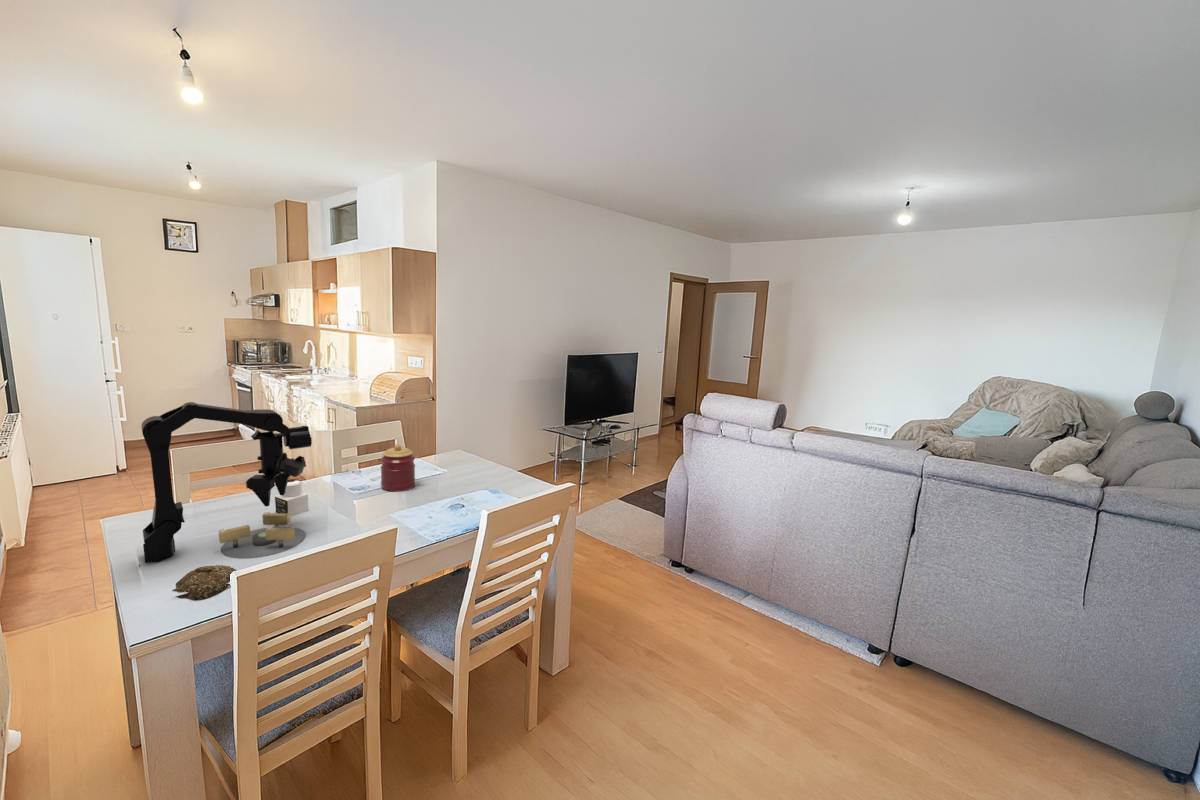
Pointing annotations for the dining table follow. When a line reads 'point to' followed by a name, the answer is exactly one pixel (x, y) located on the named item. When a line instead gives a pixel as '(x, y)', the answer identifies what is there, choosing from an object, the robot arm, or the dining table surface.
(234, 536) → the knob left
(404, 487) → the canister
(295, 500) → the medicine bottle
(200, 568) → the brown speckled lumpy part
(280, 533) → the knob near
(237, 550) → the levelling base
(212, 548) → the dining table surface
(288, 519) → the wooden plank block
